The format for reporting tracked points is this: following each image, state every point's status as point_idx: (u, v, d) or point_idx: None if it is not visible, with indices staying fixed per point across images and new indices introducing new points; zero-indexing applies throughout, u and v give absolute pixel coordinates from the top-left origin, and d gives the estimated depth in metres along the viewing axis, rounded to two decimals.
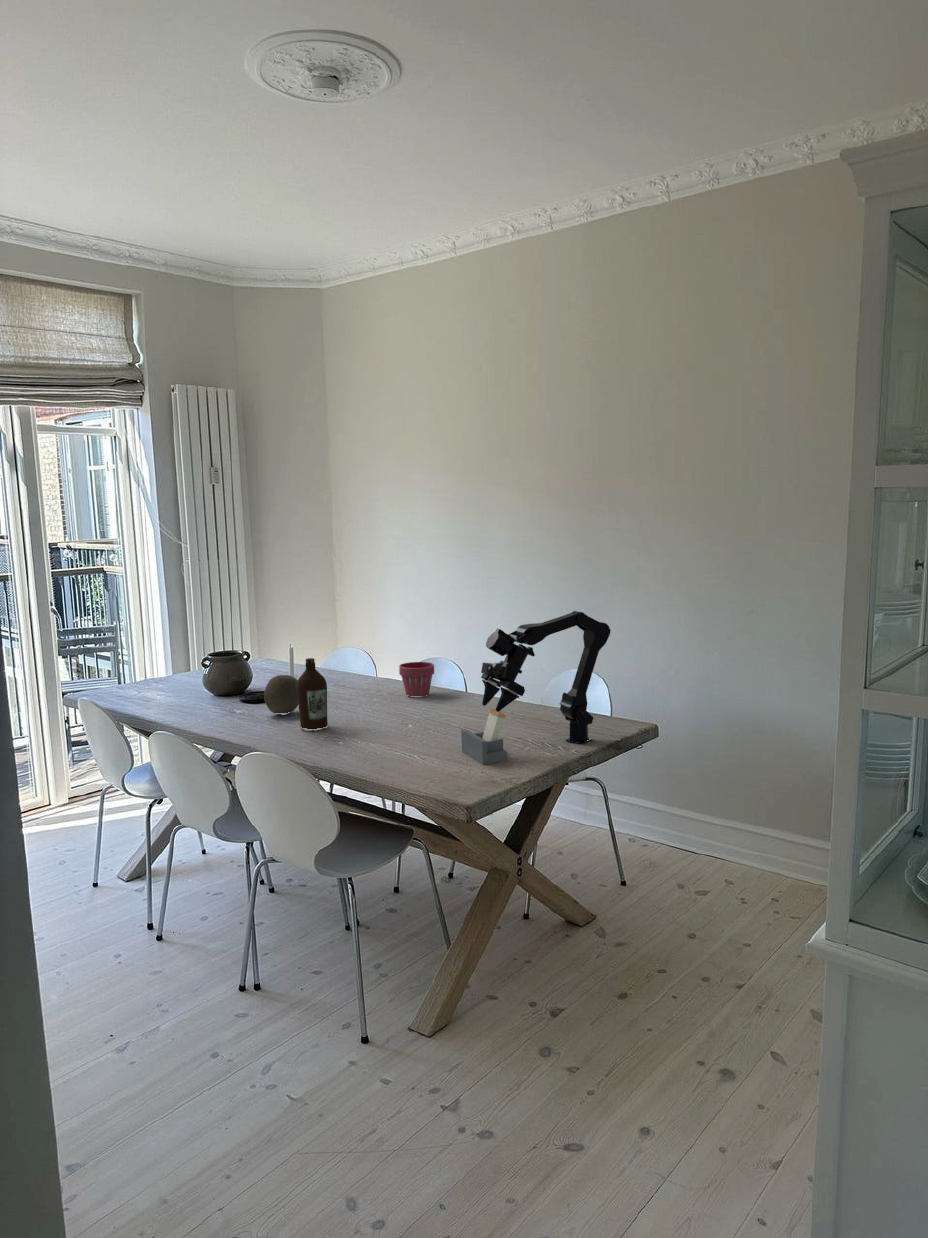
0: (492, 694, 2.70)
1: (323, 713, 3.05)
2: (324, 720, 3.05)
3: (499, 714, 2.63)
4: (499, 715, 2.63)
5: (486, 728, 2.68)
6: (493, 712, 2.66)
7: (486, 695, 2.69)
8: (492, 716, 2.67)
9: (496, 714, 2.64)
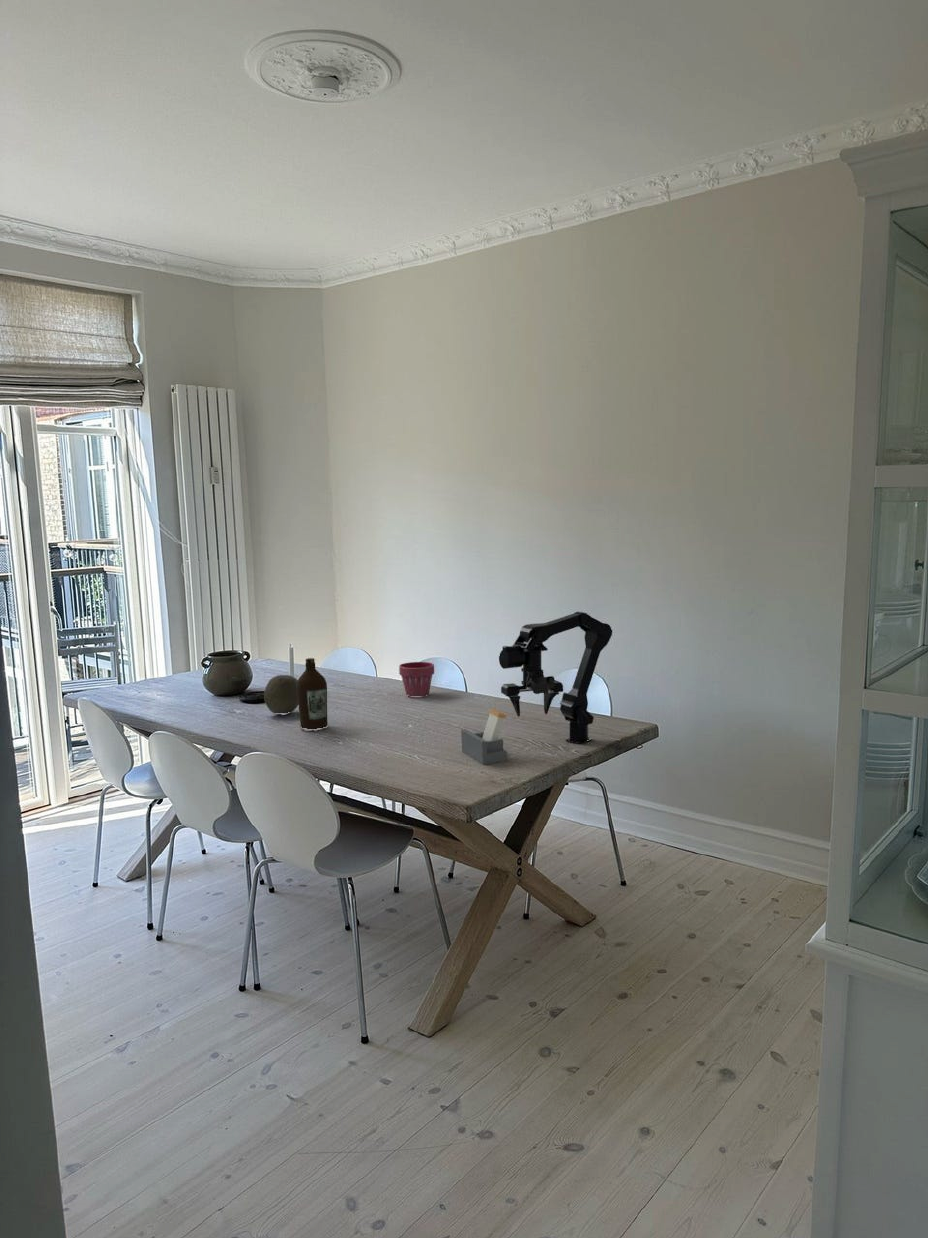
0: None
1: (323, 713, 3.05)
2: (324, 720, 3.05)
3: (500, 714, 2.63)
4: (500, 715, 2.63)
5: (486, 728, 2.68)
6: (494, 712, 2.66)
7: None
8: (492, 716, 2.67)
9: (497, 714, 2.64)
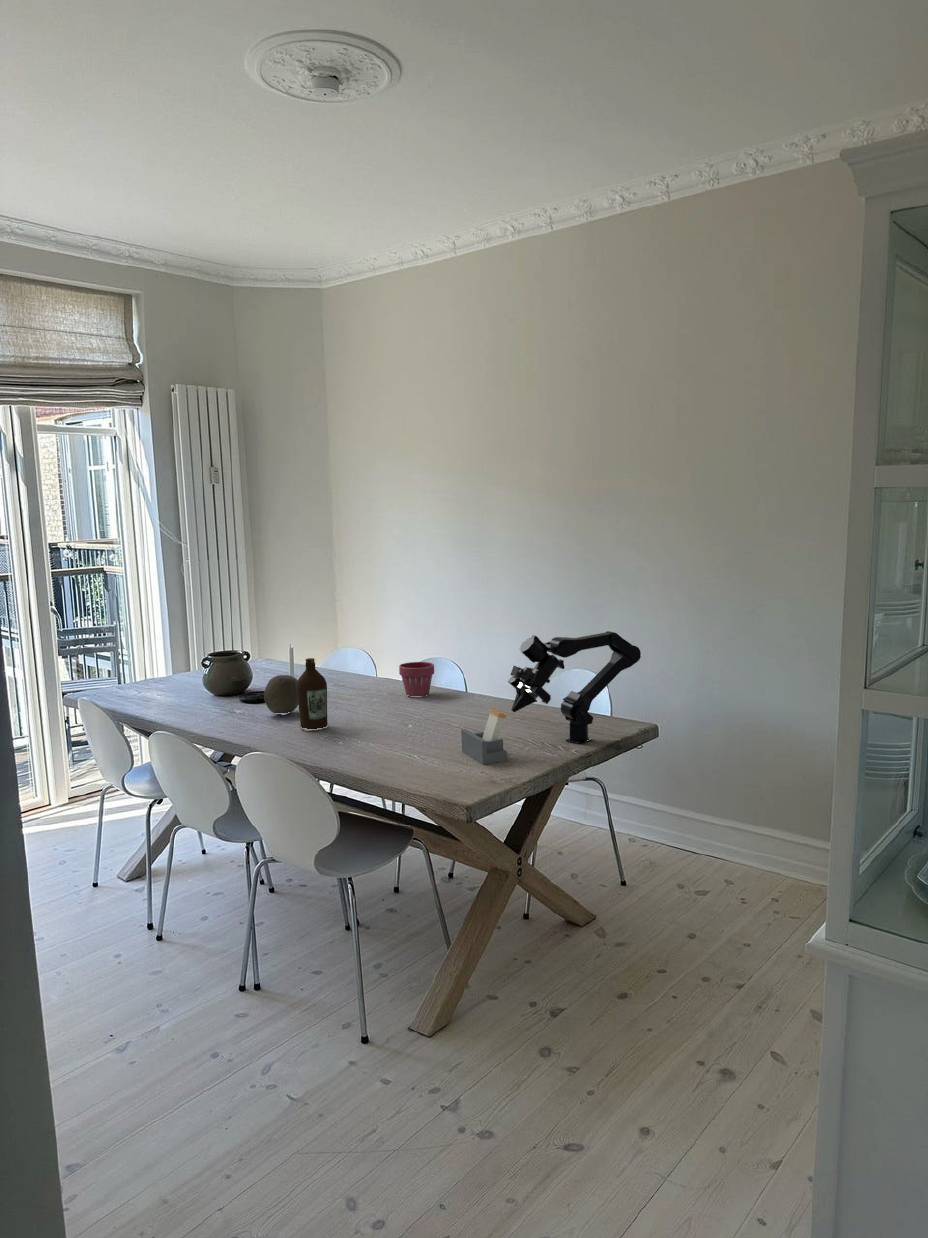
0: None
1: (323, 713, 3.05)
2: (324, 720, 3.05)
3: (500, 714, 2.63)
4: (500, 715, 2.63)
5: (486, 728, 2.68)
6: (494, 712, 2.66)
7: None
8: (492, 716, 2.67)
9: (497, 714, 2.64)
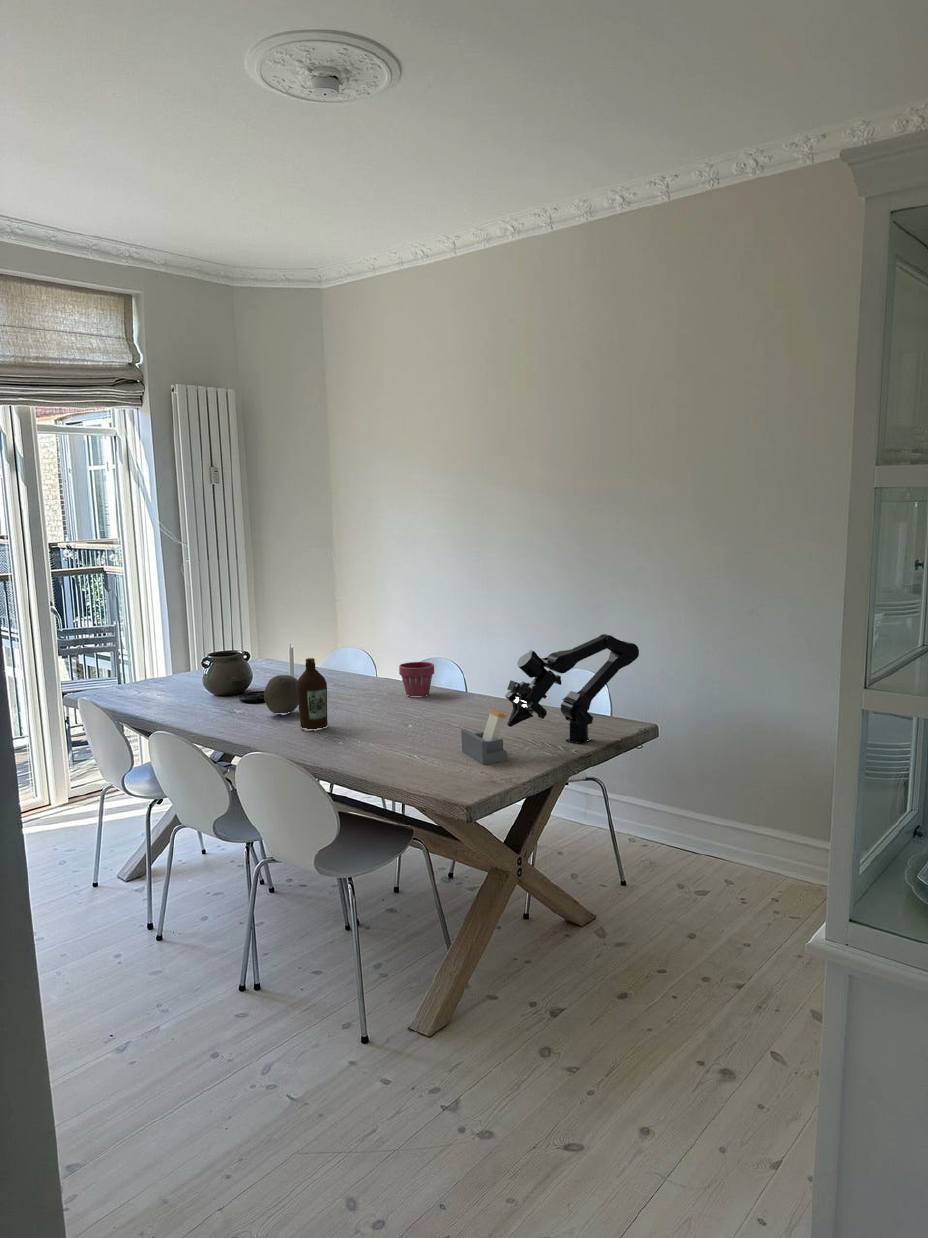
0: None
1: (323, 713, 3.05)
2: (324, 720, 3.05)
3: (500, 714, 2.63)
4: (500, 715, 2.63)
5: (486, 728, 2.68)
6: (494, 712, 2.66)
7: None
8: (492, 716, 2.67)
9: (497, 714, 2.64)
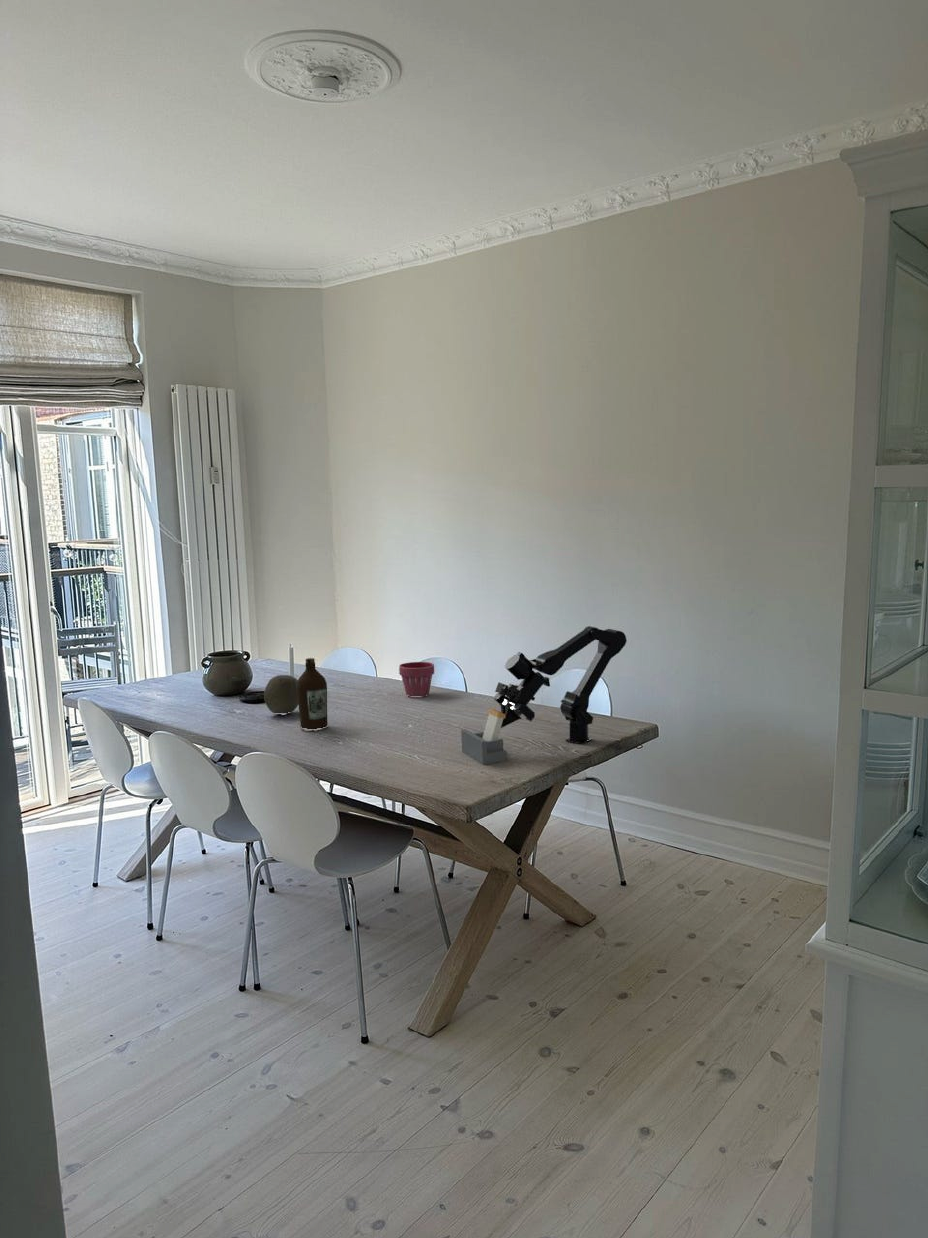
0: None
1: (323, 713, 3.05)
2: (324, 720, 3.05)
3: (499, 714, 2.63)
4: (499, 715, 2.63)
5: (486, 728, 2.68)
6: (493, 712, 2.66)
7: None
8: (492, 716, 2.67)
9: (496, 714, 2.64)
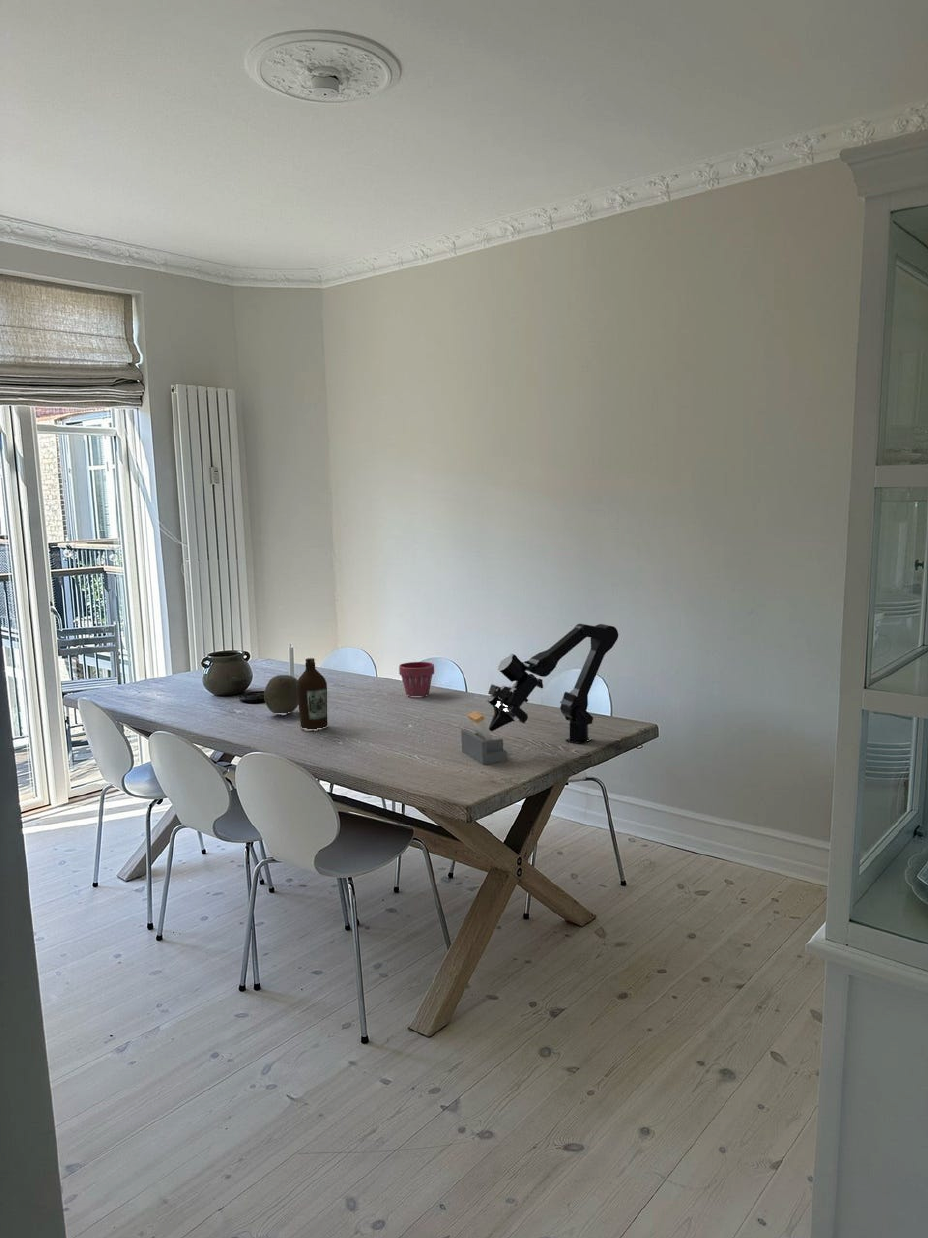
0: None
1: (323, 713, 3.05)
2: (324, 720, 3.05)
3: (477, 720, 2.61)
4: (478, 720, 2.61)
5: (477, 732, 2.67)
6: (472, 719, 2.64)
7: None
8: (474, 721, 2.64)
9: (475, 721, 2.62)
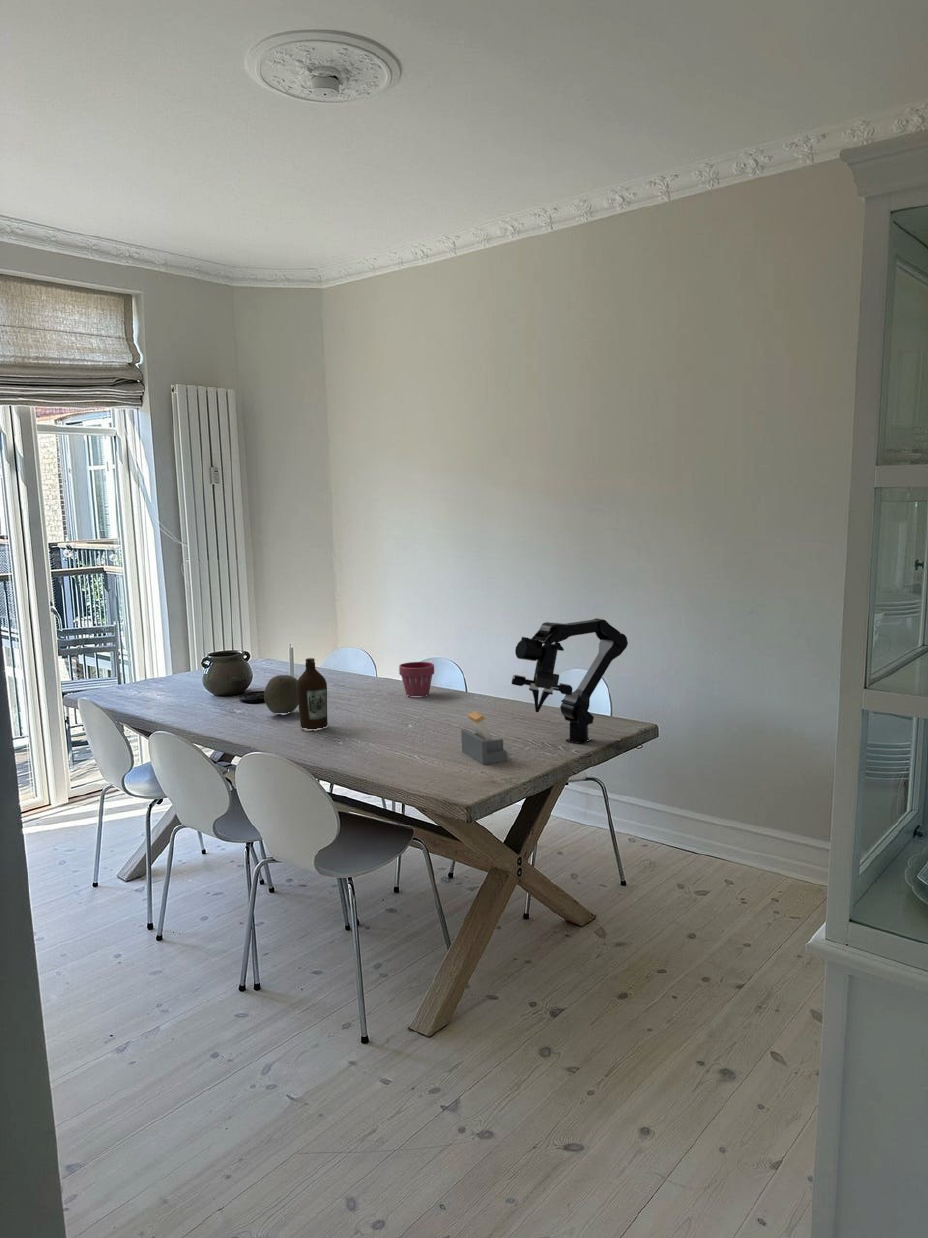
0: None
1: (323, 713, 3.05)
2: (324, 720, 3.05)
3: (477, 720, 2.61)
4: (478, 720, 2.61)
5: (477, 732, 2.67)
6: (472, 719, 2.64)
7: None
8: (474, 721, 2.64)
9: (475, 721, 2.62)
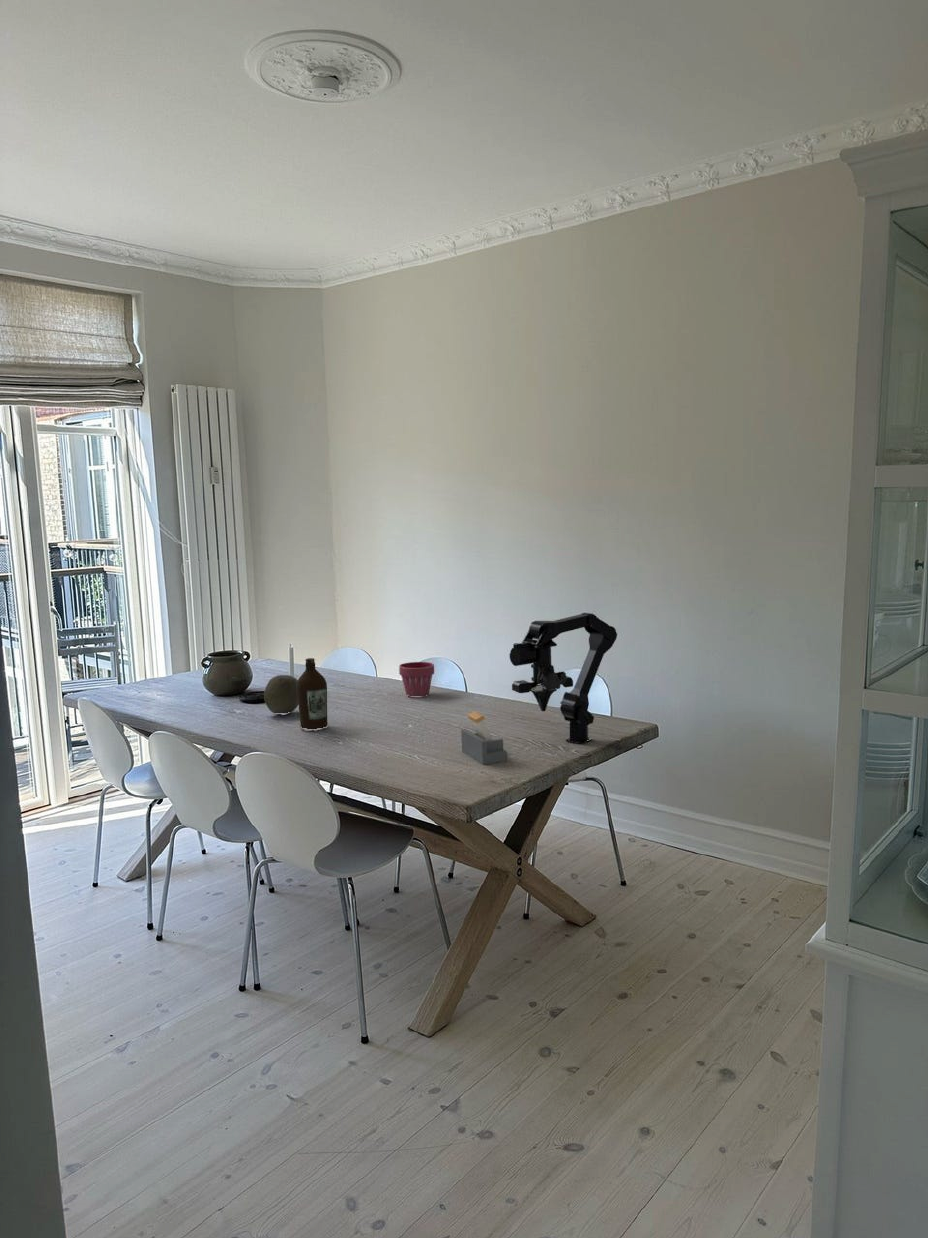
0: None
1: (323, 713, 3.05)
2: (324, 720, 3.05)
3: (477, 720, 2.61)
4: (478, 720, 2.61)
5: (477, 732, 2.67)
6: (472, 719, 2.64)
7: None
8: (474, 721, 2.64)
9: (475, 721, 2.62)
